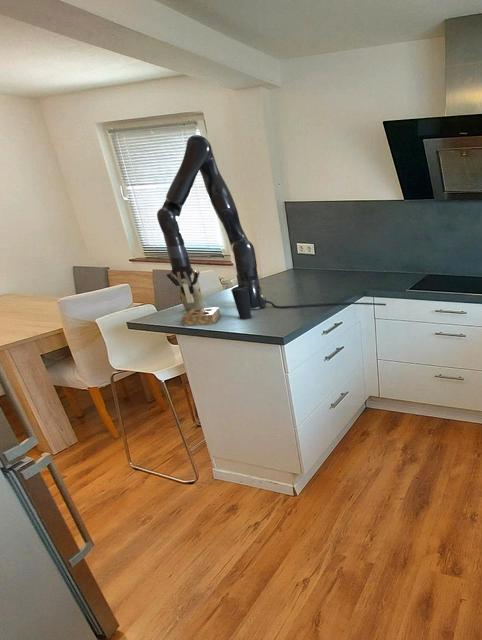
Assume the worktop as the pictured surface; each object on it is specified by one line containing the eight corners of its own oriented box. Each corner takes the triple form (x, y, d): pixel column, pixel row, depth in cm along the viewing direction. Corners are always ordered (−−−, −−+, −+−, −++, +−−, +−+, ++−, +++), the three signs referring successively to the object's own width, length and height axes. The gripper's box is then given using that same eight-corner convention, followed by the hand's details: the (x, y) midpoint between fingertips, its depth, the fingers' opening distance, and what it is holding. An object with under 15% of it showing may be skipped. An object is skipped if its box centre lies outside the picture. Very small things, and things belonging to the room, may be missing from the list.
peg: (194, 301, 179) (189, 282, 175) (192, 302, 177) (187, 283, 173) (189, 301, 179) (183, 282, 175) (187, 303, 177) (182, 284, 173)
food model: (206, 306, 192) (197, 266, 183) (203, 310, 186) (193, 269, 178) (184, 308, 189) (174, 267, 181) (181, 312, 183) (170, 270, 175)
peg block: (220, 315, 178) (218, 307, 177) (214, 323, 167) (212, 314, 166) (192, 317, 176) (190, 309, 174) (184, 325, 165) (181, 316, 163)
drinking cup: (237, 321, 171) (228, 276, 162) (235, 316, 177) (226, 273, 168) (255, 318, 174) (247, 274, 166) (253, 314, 180) (245, 271, 172)
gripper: (157, 258, 164) (169, 297, 171) (192, 256, 167) (202, 295, 174) (164, 255, 171) (175, 293, 178) (197, 253, 174) (207, 291, 181)
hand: (188, 293), depth 176 cm, fingers closed on peg, 2 cm apart
